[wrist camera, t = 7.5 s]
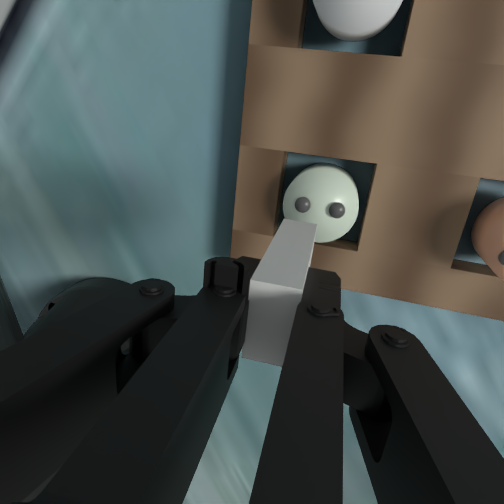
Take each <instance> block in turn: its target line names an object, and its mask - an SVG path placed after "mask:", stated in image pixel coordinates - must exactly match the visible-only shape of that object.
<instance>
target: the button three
mask: <svg viewBox="0 0 504 504" xmlns="http://www.w3.org/2000/svg"><path fill="white" fill-rule="evenodd" d="M471 239H472V244H473V247H474V249H475V250H476V252H477V253H478V255H479V256H480V257H481V258H482V259H483V260H484V262H485V263H486V264H487V265H488V266H489V267H490V268H491V270H492V271H493V272H494V273H495V274H496V275H497V276H498V277H499V278H501V279H502V280H503V281H504V197H502V198H499V199H497V200H495V201H493V202H492V203H490V204H489V205H488V206H486V207H485V208H484V209H483V210H482V211H481V212H480V214H479V215H478V216H477V218H476V220H475V222H474V224H473V227H472V233H471Z"/></svg>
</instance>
